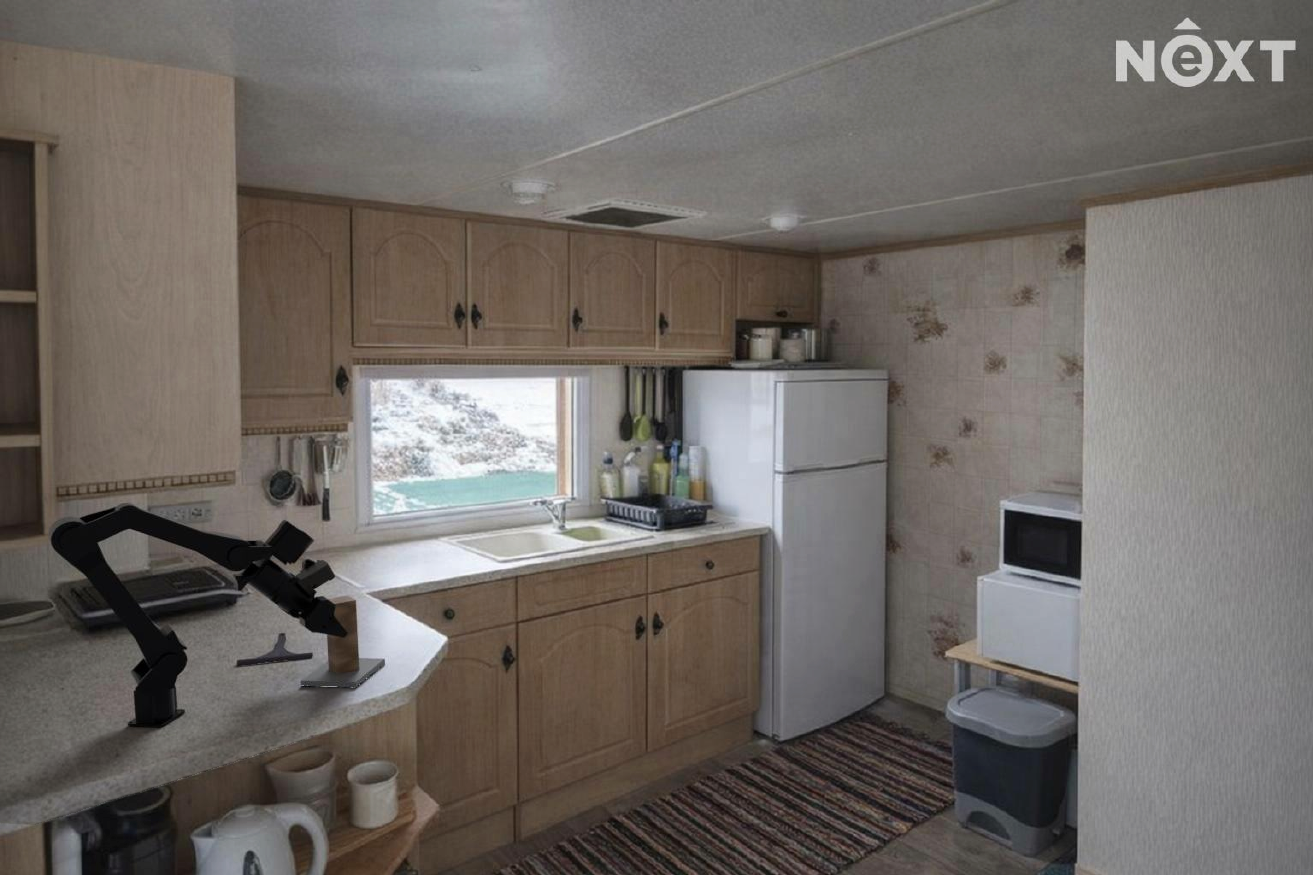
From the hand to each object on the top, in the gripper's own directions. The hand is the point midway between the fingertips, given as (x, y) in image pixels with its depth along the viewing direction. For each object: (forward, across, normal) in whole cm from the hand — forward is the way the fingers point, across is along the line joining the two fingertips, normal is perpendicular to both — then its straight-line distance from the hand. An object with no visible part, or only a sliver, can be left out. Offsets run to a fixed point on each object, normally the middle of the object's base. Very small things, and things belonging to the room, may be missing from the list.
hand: (338, 629), depth 170 cm
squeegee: (+4, +24, +11) cm, 27 cm away
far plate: (+7, 0, +6) cm, 9 cm away
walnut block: (+6, 0, +5) cm, 8 cm away
